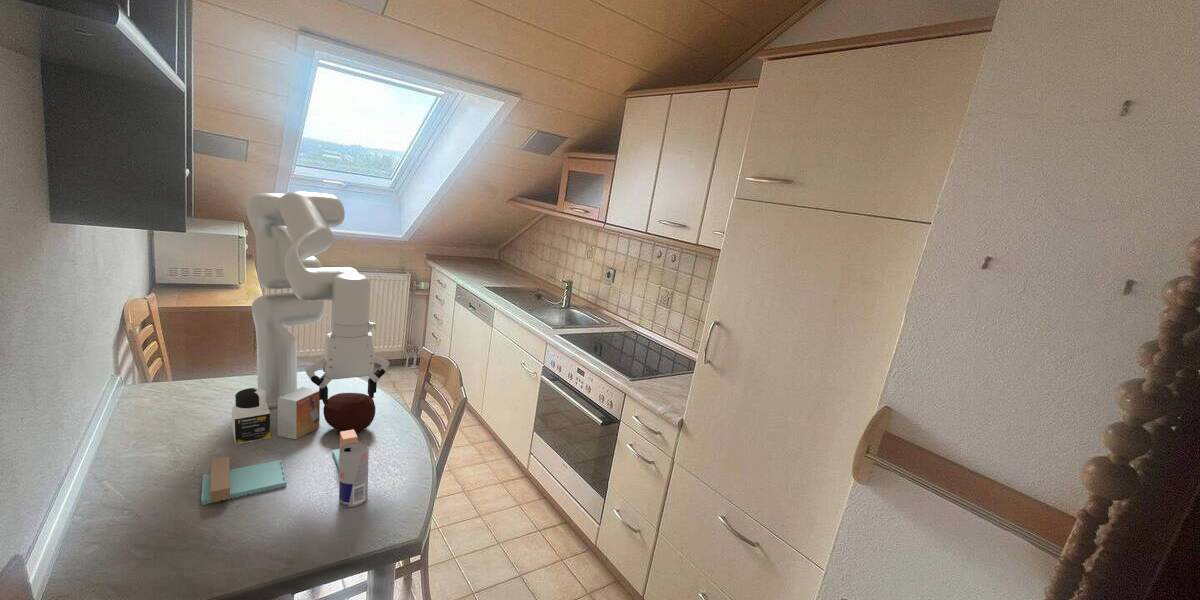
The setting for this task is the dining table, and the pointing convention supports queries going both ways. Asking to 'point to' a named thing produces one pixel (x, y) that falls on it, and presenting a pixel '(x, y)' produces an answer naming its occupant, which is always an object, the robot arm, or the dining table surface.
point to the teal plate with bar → (240, 480)
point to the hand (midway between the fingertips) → (348, 398)
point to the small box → (298, 413)
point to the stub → (344, 443)
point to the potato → (349, 411)
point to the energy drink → (353, 474)
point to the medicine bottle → (251, 416)
